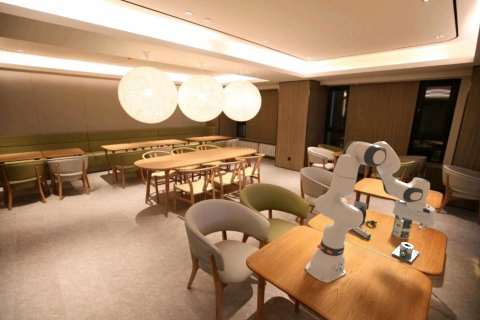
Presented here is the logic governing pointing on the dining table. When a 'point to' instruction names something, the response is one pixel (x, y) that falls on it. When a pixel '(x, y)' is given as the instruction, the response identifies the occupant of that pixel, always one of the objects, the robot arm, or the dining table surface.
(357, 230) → the grey brown bar
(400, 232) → the coffee can
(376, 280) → the dining table surface
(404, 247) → the coupling
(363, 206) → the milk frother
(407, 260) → the valve base
